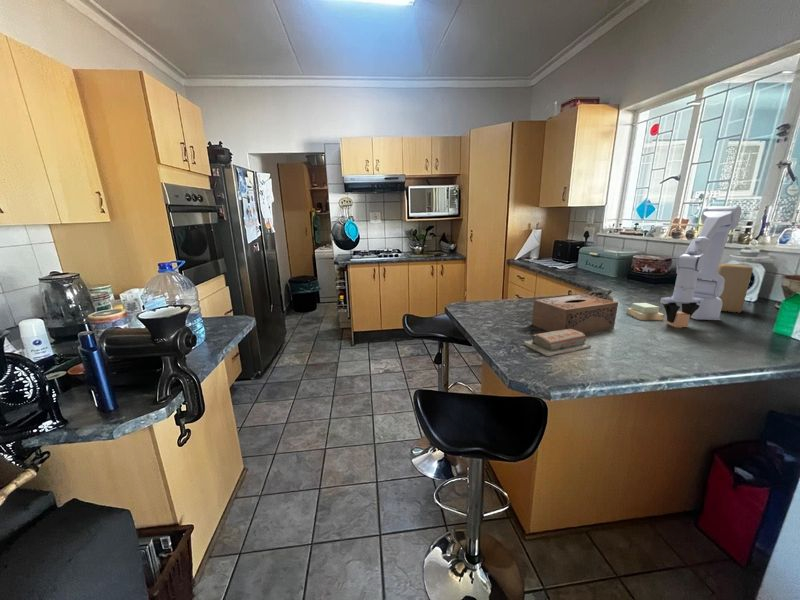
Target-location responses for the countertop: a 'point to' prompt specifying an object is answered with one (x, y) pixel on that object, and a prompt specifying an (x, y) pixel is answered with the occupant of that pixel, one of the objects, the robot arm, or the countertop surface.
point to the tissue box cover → (574, 313)
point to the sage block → (645, 308)
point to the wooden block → (734, 285)
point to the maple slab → (645, 315)
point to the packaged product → (558, 342)
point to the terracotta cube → (680, 320)
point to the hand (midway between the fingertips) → (677, 321)
